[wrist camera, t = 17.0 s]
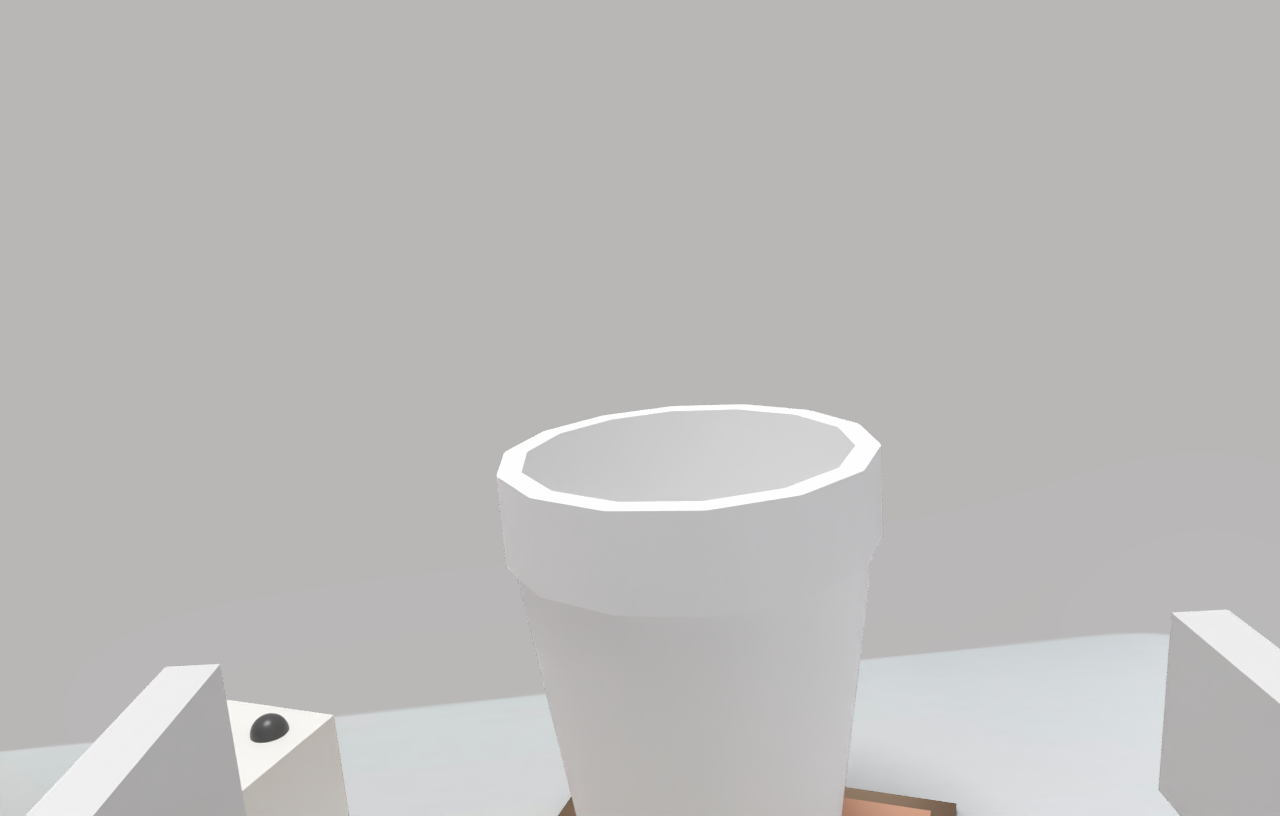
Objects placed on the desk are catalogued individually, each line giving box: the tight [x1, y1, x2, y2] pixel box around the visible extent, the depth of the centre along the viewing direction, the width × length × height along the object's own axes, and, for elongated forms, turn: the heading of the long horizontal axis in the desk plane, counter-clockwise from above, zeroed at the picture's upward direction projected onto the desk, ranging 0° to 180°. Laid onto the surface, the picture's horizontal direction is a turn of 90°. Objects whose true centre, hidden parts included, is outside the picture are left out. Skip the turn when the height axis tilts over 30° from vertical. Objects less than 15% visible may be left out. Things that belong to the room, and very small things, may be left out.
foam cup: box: [496, 404, 883, 816], centre depth 26 cm, size 10×9×13 cm
